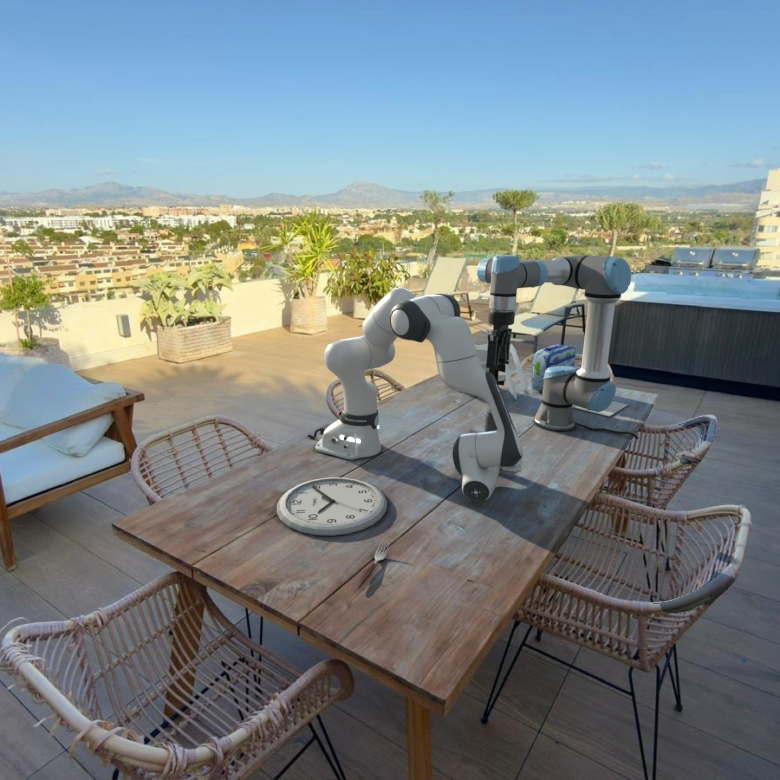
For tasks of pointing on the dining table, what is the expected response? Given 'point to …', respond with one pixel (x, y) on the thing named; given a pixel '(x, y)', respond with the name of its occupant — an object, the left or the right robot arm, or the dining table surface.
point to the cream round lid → (501, 376)
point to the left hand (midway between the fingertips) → (490, 449)
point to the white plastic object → (513, 355)
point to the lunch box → (550, 362)
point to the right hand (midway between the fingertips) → (496, 386)
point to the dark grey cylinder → (490, 422)
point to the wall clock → (331, 506)
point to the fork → (378, 557)
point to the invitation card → (607, 409)
